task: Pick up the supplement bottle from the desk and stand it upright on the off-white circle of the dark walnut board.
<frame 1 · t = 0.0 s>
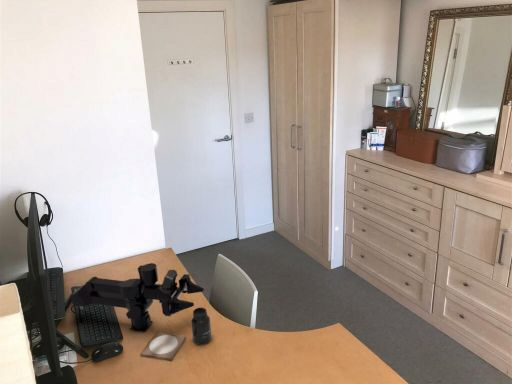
hand: (198, 296, 159), 17 cm above the table, tool horizontal, fingers open, 9 cm apart
walnut board: (164, 346, 159), on the table
supplement bottle: (202, 339, 163), on the table
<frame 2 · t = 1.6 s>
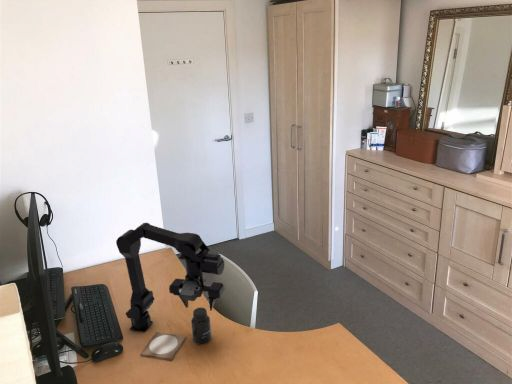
hand: (199, 308, 158), 13 cm above the table, tool pointing down, fingers open, 9 cm apart
nothing on the table moved.
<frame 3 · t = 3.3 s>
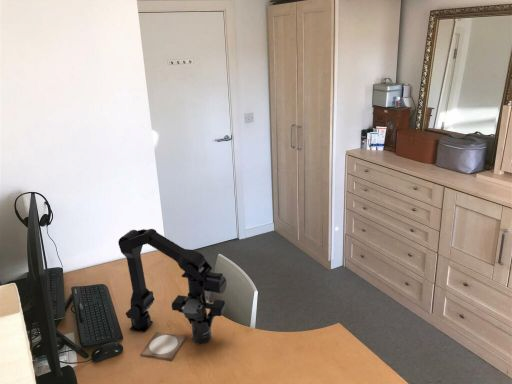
hand: (201, 325, 160), 6 cm above the table, tool pointing down, fingers closed on supplement bottle, 7 cm apart
supplement bottle: (202, 339, 163), on the table, touching gripper
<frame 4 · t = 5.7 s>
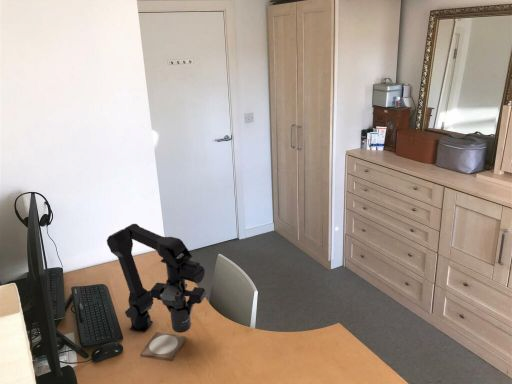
hand: (180, 313, 157), 13 cm above the table, tool pointing down, fingers closed on supplement bottle, 7 cm apart
supplement bottle: (181, 327, 159), point 6 cm above the table, touching gripper
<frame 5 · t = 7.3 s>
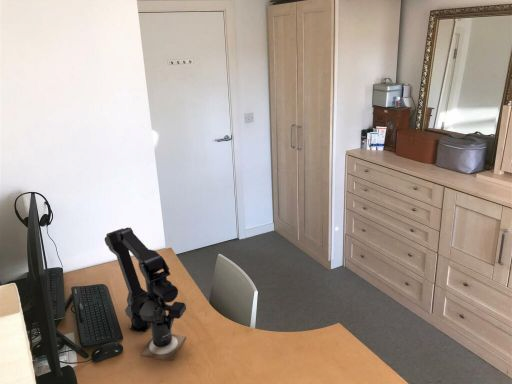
hand: (161, 327, 156), 8 cm above the table, tool pointing down, fingers closed on supplement bottle, 7 cm apart
supplement bottle: (162, 341, 159), point 2 cm above the table, touching gripper
when the fingers open (8 cm above the table, at t = 8.3 s): supplement bottle stays where it is, resting on walnut board.
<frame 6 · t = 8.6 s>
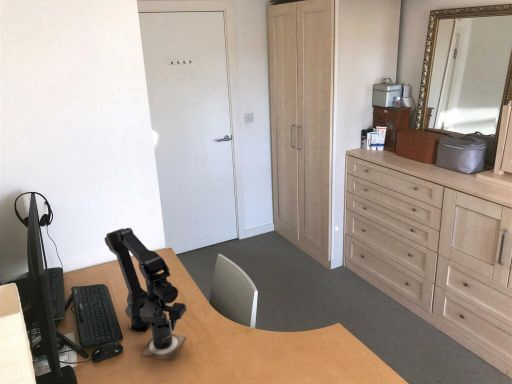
hand: (161, 328, 157), 8 cm above the table, tool pointing down, fingers open, 9 cm apart
supplement bottle: (163, 344, 159), point 1 cm above the table, touching walnut board
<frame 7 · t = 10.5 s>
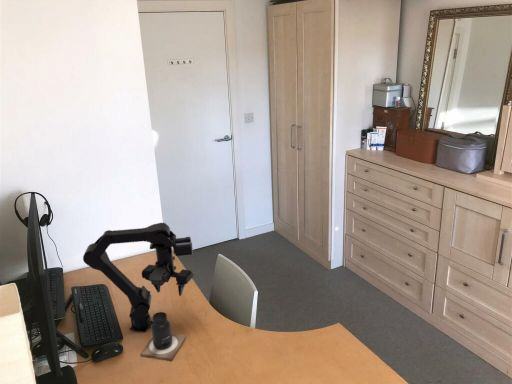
hand: (169, 293, 168), 13 cm above the table, tool pointing down, fingers open, 9 cm apart
nothing on the table moved.
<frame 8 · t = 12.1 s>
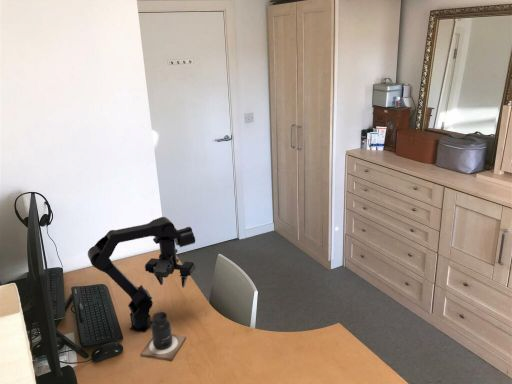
hand: (172, 285, 173), 13 cm above the table, tool pointing down, fingers open, 9 cm apart
nothing on the table moved.
at the end: supplement bottle 0.1 cm off-centre on the walnut board, point 1.0 cm above the walnut board's base; supplement bottle tilted 0°; the gripper is holding nothing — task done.
